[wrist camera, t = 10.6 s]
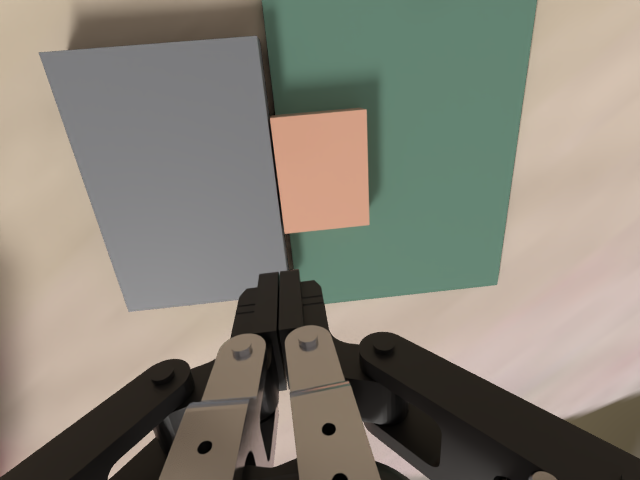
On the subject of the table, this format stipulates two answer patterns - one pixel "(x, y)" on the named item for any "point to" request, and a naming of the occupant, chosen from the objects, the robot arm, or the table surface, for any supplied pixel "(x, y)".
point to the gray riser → (176, 164)
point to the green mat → (410, 133)
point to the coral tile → (322, 169)
